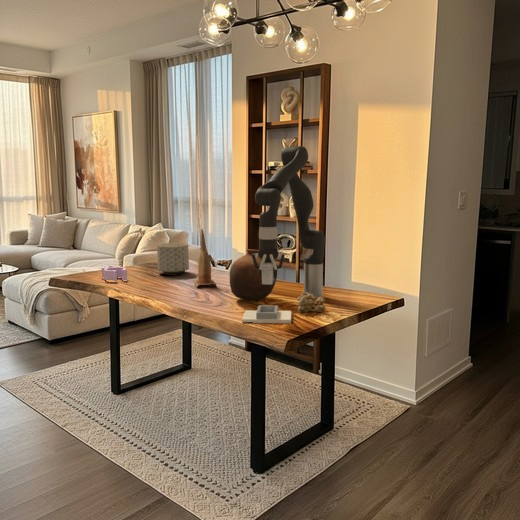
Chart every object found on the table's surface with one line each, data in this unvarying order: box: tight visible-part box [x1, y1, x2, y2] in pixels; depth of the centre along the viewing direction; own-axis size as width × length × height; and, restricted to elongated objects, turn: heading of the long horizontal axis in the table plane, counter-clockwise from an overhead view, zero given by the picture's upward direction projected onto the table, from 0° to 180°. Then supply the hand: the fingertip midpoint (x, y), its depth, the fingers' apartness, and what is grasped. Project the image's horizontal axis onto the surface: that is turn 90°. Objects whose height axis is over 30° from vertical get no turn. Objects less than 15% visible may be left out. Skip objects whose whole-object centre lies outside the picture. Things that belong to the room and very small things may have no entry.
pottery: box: [229, 248, 278, 302], centre depth 246 cm, size 23×23×25 cm
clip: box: [101, 265, 128, 282], centre depth 300 cm, size 20×12×7 cm, turn 40°
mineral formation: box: [297, 291, 326, 314], centre depth 228 cm, size 8×13×15 cm
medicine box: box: [262, 262, 275, 285], centre depth 212 cm, size 8×4×9 cm, turn 172°
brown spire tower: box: [194, 228, 217, 289], centre depth 278 cm, size 11×12×32 cm
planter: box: [156, 242, 190, 275], centre depth 315 cm, size 19×19×18 cm
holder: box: [241, 304, 292, 324], centre depth 215 cm, size 14×20×4 cm
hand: (268, 278), depth 212 cm, fingers closed on medicine box, 4 cm apart
